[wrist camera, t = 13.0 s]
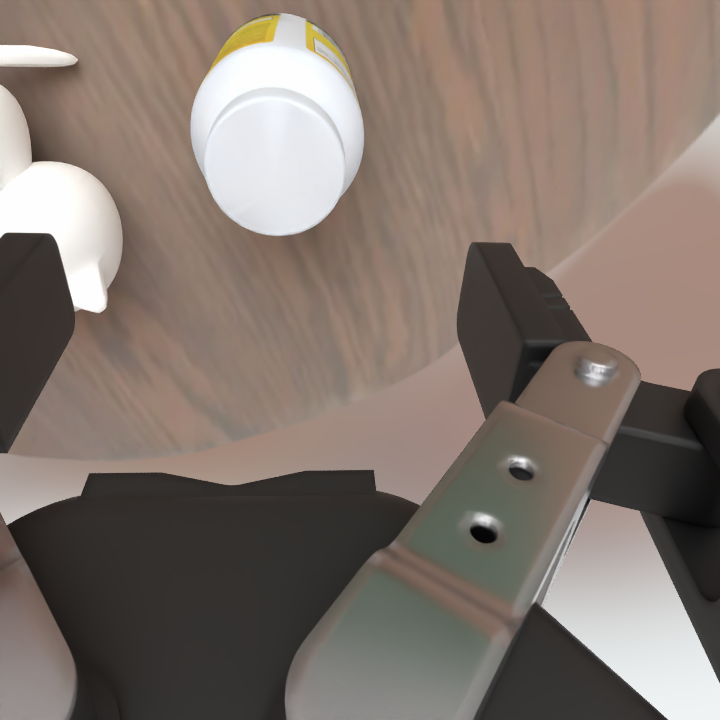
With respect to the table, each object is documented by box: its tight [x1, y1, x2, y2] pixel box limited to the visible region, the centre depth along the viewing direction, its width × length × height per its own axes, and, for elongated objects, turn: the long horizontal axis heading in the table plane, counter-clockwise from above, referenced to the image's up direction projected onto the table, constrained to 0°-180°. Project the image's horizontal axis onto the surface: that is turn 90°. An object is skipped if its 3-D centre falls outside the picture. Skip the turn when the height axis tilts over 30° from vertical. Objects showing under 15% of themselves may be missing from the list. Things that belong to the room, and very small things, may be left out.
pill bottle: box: [191, 13, 364, 236], centre depth 25 cm, size 6×6×12 cm
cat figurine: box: [0, 45, 123, 313], centre depth 28 cm, size 9×11×12 cm
